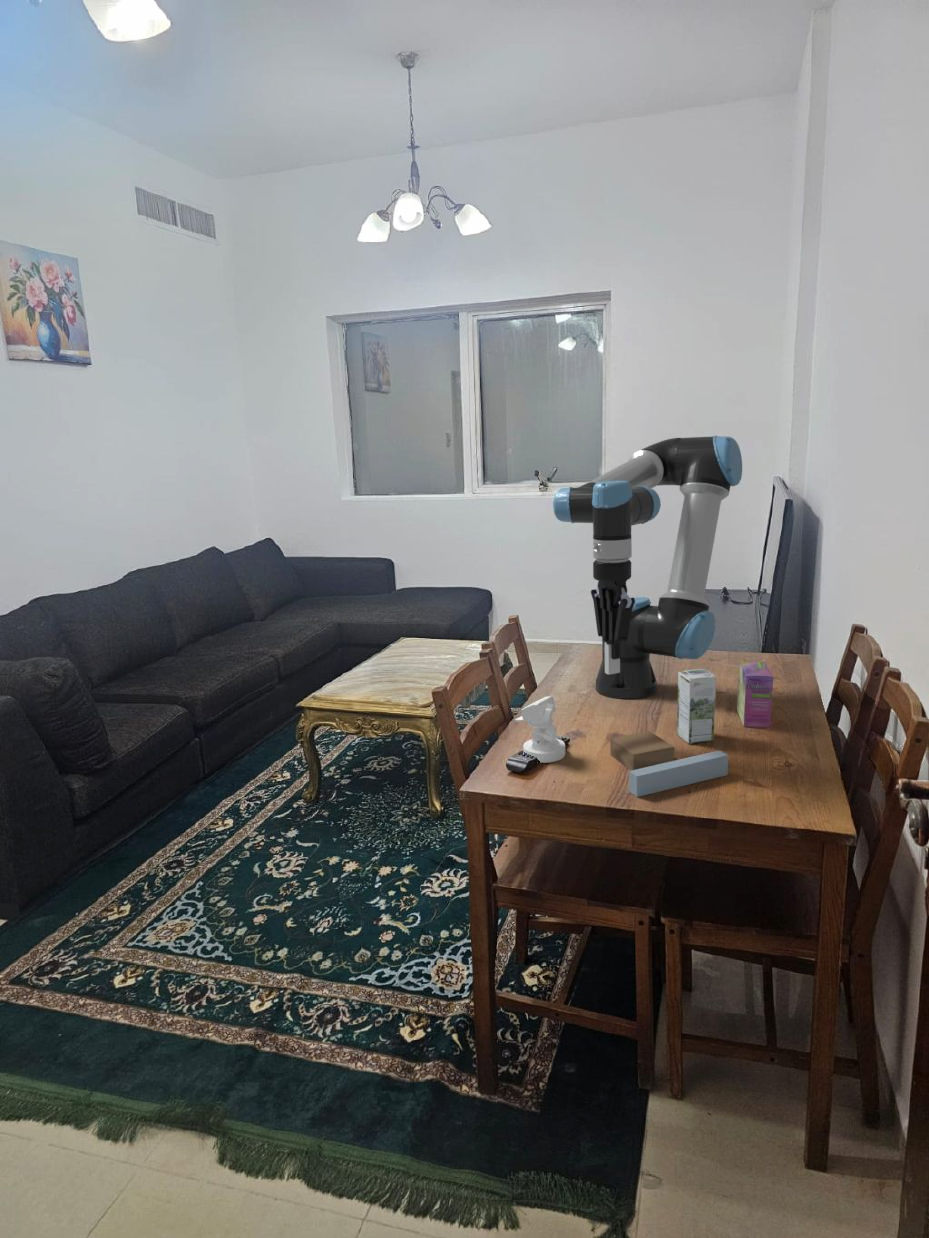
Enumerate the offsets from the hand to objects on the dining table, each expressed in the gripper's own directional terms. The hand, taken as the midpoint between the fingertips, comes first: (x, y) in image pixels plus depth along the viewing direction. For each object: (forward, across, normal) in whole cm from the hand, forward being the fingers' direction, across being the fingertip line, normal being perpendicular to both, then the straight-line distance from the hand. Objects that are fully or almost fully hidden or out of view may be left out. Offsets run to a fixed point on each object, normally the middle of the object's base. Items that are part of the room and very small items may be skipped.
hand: (612, 672), depth 159 cm
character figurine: (+16, -2, -16) cm, 22 cm away
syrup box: (+15, +6, +16) cm, 23 cm away
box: (+15, +3, +34) cm, 38 cm away
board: (+15, +22, 0) cm, 27 cm away
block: (+16, +10, 0) cm, 19 cm away
